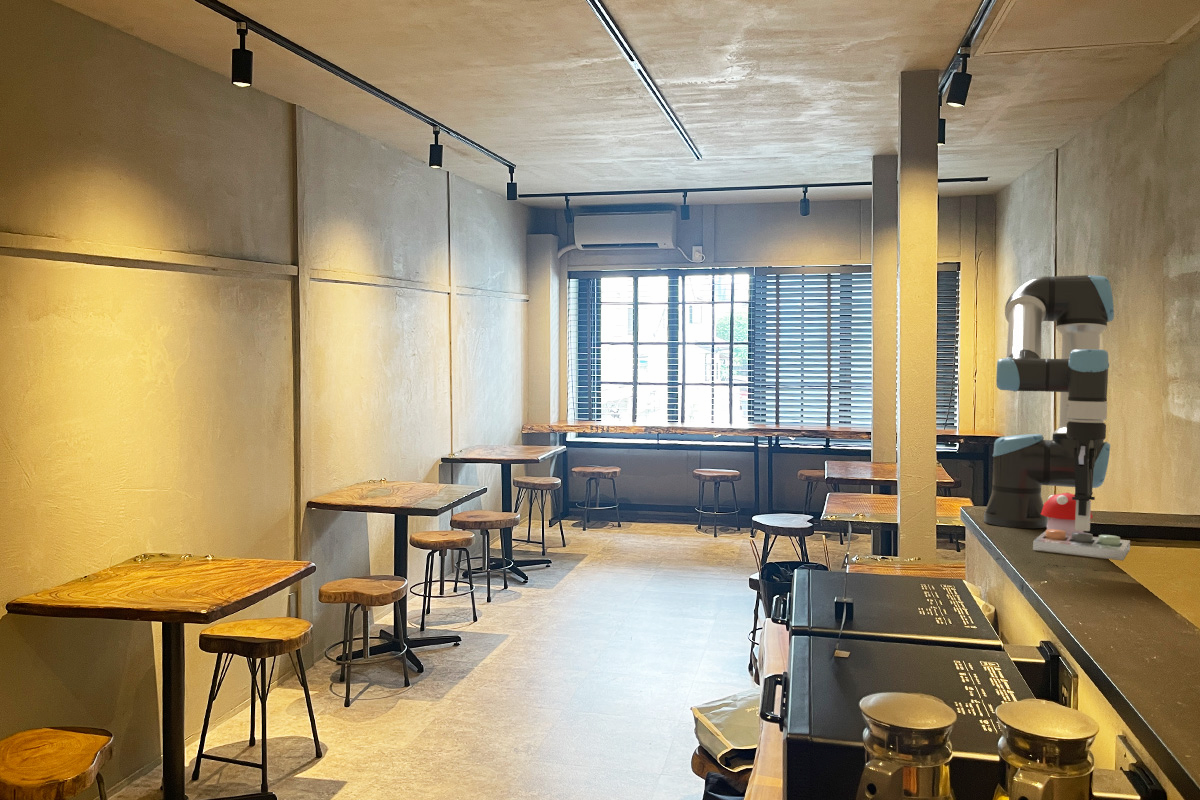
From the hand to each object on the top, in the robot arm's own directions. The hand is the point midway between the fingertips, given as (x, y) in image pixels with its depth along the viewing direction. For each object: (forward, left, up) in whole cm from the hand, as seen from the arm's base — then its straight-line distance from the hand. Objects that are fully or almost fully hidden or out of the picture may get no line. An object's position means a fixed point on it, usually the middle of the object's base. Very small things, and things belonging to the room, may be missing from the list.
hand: (1082, 530), depth 201 cm
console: (0, 0, -6) cm, 6 cm away
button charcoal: (0, 0, -3) cm, 3 cm away
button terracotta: (0, -5, -3) cm, 6 cm away
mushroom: (-14, -5, -6) cm, 16 cm away
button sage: (0, +5, -3) cm, 6 cm away
